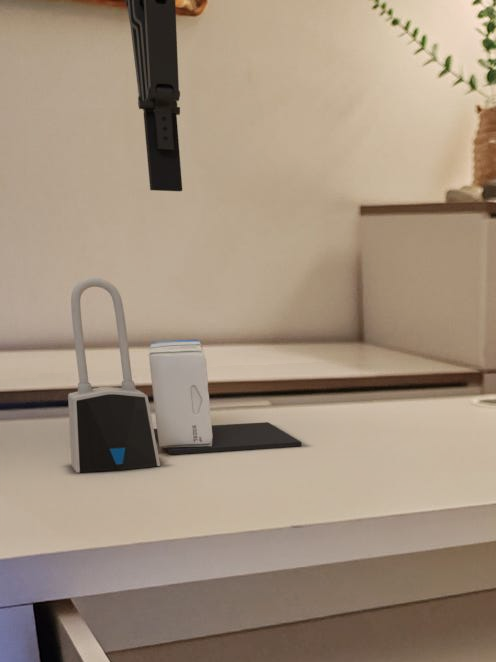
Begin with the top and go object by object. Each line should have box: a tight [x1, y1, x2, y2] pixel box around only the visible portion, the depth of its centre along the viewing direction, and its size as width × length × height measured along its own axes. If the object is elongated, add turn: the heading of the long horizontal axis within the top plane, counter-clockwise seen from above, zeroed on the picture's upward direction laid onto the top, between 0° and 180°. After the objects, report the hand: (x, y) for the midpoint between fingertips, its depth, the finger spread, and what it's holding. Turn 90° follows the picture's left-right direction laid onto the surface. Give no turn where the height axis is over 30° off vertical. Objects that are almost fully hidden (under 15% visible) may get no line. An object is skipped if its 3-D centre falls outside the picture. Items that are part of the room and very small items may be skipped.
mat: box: [154, 421, 302, 456], centre depth 100 cm, size 13×12×1 cm
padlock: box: [67, 277, 161, 474], centre depth 84 cm, size 7×4×15 cm, turn 117°
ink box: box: [148, 339, 213, 448], centre depth 97 cm, size 9×5×12 cm
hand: (166, 190), depth 96 cm, fingers closed
